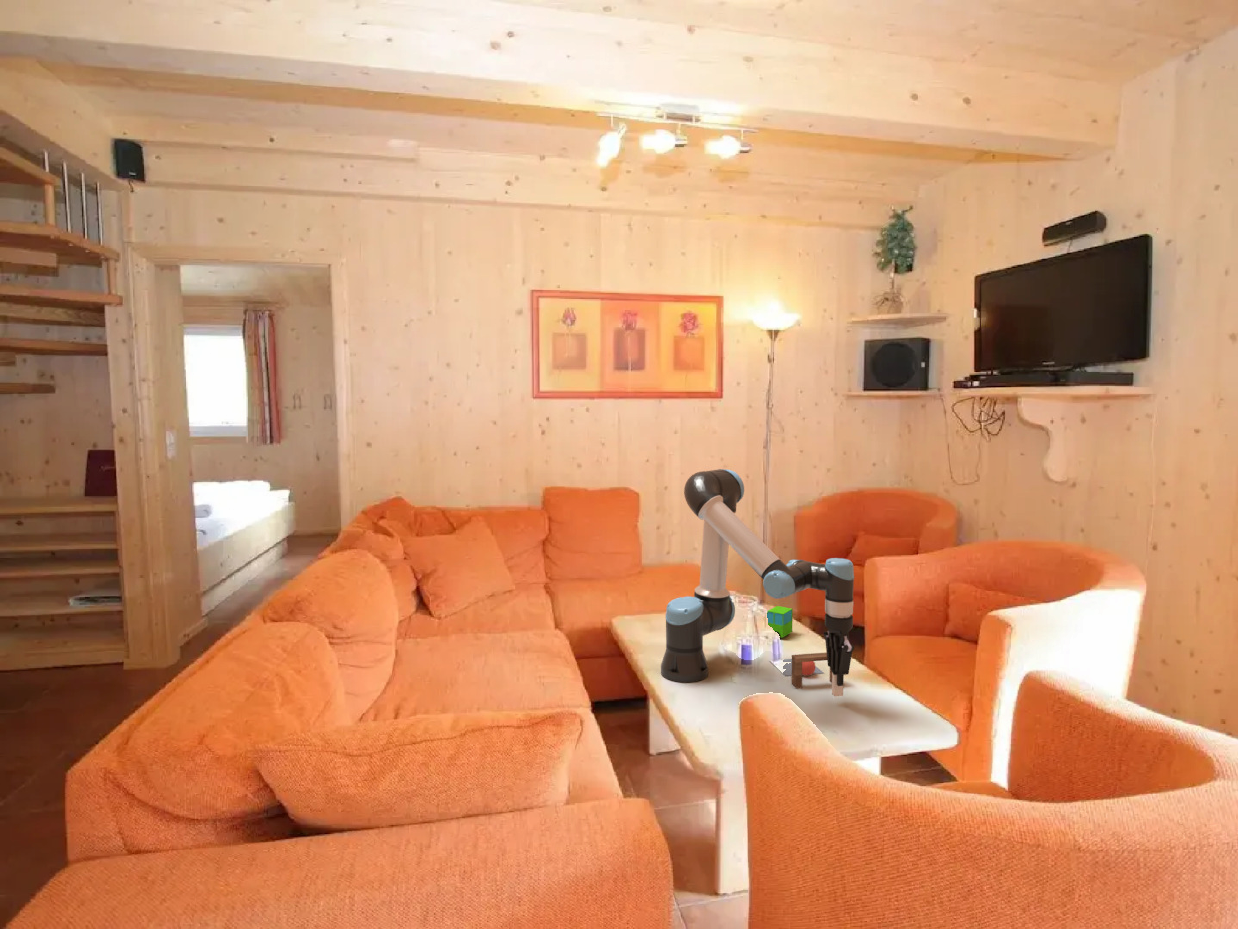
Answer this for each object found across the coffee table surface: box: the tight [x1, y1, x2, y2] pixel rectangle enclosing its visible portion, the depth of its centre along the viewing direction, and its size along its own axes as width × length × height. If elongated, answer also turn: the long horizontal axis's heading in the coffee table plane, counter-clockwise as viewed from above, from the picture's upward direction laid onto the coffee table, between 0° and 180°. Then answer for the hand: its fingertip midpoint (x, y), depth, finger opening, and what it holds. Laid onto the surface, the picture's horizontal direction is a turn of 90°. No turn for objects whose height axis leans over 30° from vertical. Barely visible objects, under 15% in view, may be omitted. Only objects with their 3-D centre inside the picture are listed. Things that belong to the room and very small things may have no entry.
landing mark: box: [782, 658, 825, 677], centre depth 210 cm, size 13×13×1 cm
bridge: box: [790, 652, 832, 689], centre depth 196 cm, size 3×14×9 cm, turn 100°
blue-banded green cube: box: [766, 605, 794, 639], centre depth 242 cm, size 10×13×10 cm
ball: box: [802, 661, 816, 677], centre depth 203 cm, size 6×6×6 cm
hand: (837, 695), depth 183 cm, fingers closed
